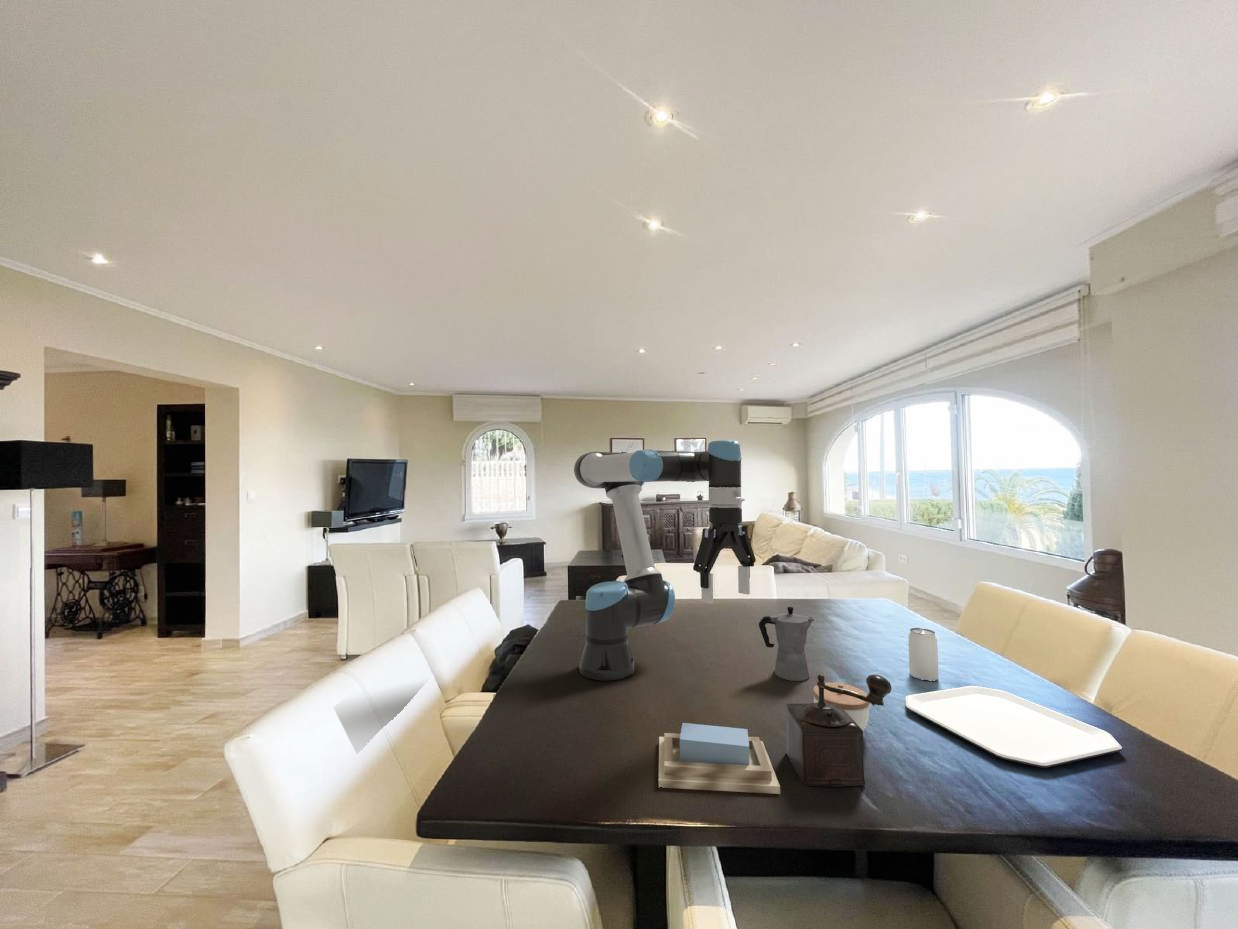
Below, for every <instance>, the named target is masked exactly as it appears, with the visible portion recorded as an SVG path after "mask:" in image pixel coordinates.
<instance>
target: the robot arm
mask: <svg viewBox="0 0 1238 929" xmlns="http://www.w3.org/2000/svg"><path fill="white" fill-rule="evenodd" d="M573 473H574V476H575V478H576V480H577V481H578V483H579V484H581V485H583V486H584V487H587V488H591V489H604V491H605V495H606V497H607V498H608V499H609V500H611V501H612V502H611V503H612V506H613V512H614V516H615V521H616V527H617V531H618V537H619V541H620V546H621V551H622V555H623V556H622V557H623V560H624V566H625V570H626V576H625V578H624V580H623V581H622V580H621V581H620V580H613V581H609V580H608V581H603V582H598V583H597V584H594V585H592V586H590V587H589V589H587V591H586V593H585V595H586V596H585V604H584V607H585V644H584V646H583V647H584V648H583V651H582V655H581V658H580V661H579V673H580V674H581V675H582V676H583V677H585V678H587V679H592V680H596V681H604V682H605V681H617V680H621V679H625V678H627V677H630V676H631V675H633V674H634V672H635V659H634V657H633V653H632V650H631V648H630V644H629V638H628V637H629V634H628V633H629V632H628V631H629V629H631V628H639V627H644V626H649V625H657V624H659V623H662V622H666V621H667V620H669V619H671V617H672V615H673V612H674V611H675V606H676V594H675V591H674V588H673V586H672V585H671V583H670V582H669V581H667V580H664V579H663V575H662V572H660V571H658V569H657V568H656V566H655V562H654V558H653V554H652V549H651V545H650V540H649V535H648V531H647V526H646V522H645V518H644V514H643V508H642V504H641V500H640V496H639V494H640V493H641V491H642V490H643V487H642V486H644V484H645V483H652V482H654V483H656V482H685V483H695V482H696V483H697V482H708V505H710V507H709V509H708V521H709V523H710V524H712V527H711V528H707V527H705V528H702V532H701V540H700V544H699V546H698V551H697V554H696V556H695V560H694V564H693V566H692V569H693V571H694V572H697V573H699V582H700V583H699V585H700V588H701V602H702V603H705V604H709V605H710V604H711V605H712V604H714V574H713V573H711V571H712V570H713V567H714V565H715V563H716V561H717V560H718V557H719V555H720V553H721V550H723V549H724V548H728V547H730V548H731V549H730V550H732V552H733V554H734V556H735V558H736V559H737V560H738V562H739V565H737V578H738V580H737V581H738V594H742V595H751V590H750V588H751V586H750V580H751V579H750V578H751V569H750V568H751V567H754V566H755V563H756V561H757V559H756V557H755V553H754V549H753V547H752V544H751V540H750V538H749V533H748V527H747V525H739V524H741V523H743V522H742V521H743V517H742V516H743V515H742V514H743V511H742V508H741V507H740V506H741V505H742V452H741V445H740V443H739V441H736V440H729V439H728V440H725V439H723V440H713V441H710V442H709V443H708V445H707V450H703V451H686V450H685V451H683V450H681V451H680V450H656V449H655V450H653V449H638V450H636V451H634V452H627V451H621V452H616V451H615V452H612V451H611V452H609V451H608V452H607V451H589V452H586V453H584V454H581V455H580V456H579V457H578V458H576V461H575V462H574V467H573Z"/></svg>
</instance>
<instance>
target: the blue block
mask: <svg viewBox="0 0 1238 929" xmlns="http://www.w3.org/2000/svg"><path fill="white" fill-rule="evenodd" d="M748 731H749V730H748V729H747V728H739V727H729V726H720V725H709V724H697V723H690V722H682V724H681V729H680V733H679V734H680V762H693V763H714V764H735V765H750V763H749V740H748V737H749V732H748Z"/></svg>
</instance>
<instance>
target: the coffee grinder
mask: <svg viewBox="0 0 1238 929" xmlns="http://www.w3.org/2000/svg"><path fill="white" fill-rule="evenodd" d="M816 677H817V678H816V679H817V680H818V681H817V682H816V685H817V686H818V687H819V701H818V702H817V703H814V702H811V703H785V754H786V755H787V758H788V760H789V762H790V763H791V765H792V767H793V768H794V771H795V773H796V775H797V776H798V777H799V780H800V781H801V783H802V784H804V786H806V787H822V788H823V787H824V788H825V787H827V788H843V787H844V788H845V787H861V786H865V785H866V781H865V768H864V766H865V765H864V763H865V762H864V759H865V758H864V732H863V731H864V730H863V731H862V729H861V728H860V727H859V726H858V725H857V724H856V722H855V721H854V720H853V719H852V718H851V717H850V716H849V715H848V714H847V713H846V712H845V711H844V710H843V709H842V708H841V707H840V706H839V705H838V704H826V703H825V702H824V689H826V690H828V691H831V692H835V693H840V694H845V695H849V696H852V697H856V698H858V699H861V700H863V701H865V702H870V704H871V705H872V706H873V707H874V706H881V707H883V706H885V705H884V698H885V697H887V695H889V694H890V693H891V692H892V684H891V682H890V681H889V680H887V678H885V677H884V676H882V675H879V674H877V673H876V674H869V675H868V676H867V678H866V679H865V683H866V685H867V687H868V693H867V694H868V695H867V696H866V697H865V696H863V695H861V694H858V693H856V692H853V691H849V690H845V689H840V688H835V687H830V686H827V685H825V683H826V682H825V676H824V675H823V674H821V673H820V674H818V675H817V676H816Z"/></svg>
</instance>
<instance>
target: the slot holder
mask: <svg viewBox="0 0 1238 929" xmlns="http://www.w3.org/2000/svg"><path fill="white" fill-rule="evenodd" d="M663 734H664V736H658V738H659V739H658V741H659V742H658V788H660V787H662V788H661V789H663V788H664V789H678V790H681V789H682V790H697V791H698V790H700V791H701V790H702V791H715V792H716V791H717V792H721V791H722V792H740V793H757V794H776V795H781V785H780V783H779V780H778V777H777V775H776V772H775V770H774V768H773V765H772V762H771V759H770V757H769V754H768V752H767V750H766V749H767V748H766V746H765V744H764V741H763V740H761V738H760V737H759V736H748V740H749V763H750V765H735V764H714V763H693V762H680V734H681V733H673V732H664V733H663Z"/></svg>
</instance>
